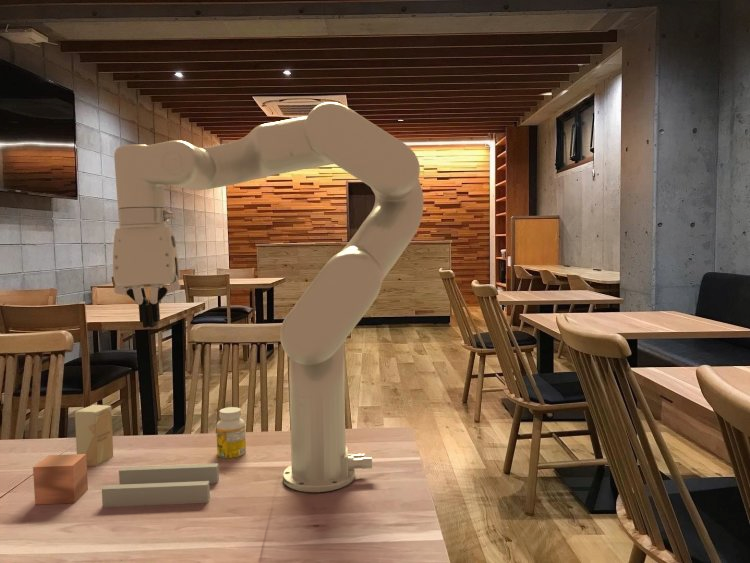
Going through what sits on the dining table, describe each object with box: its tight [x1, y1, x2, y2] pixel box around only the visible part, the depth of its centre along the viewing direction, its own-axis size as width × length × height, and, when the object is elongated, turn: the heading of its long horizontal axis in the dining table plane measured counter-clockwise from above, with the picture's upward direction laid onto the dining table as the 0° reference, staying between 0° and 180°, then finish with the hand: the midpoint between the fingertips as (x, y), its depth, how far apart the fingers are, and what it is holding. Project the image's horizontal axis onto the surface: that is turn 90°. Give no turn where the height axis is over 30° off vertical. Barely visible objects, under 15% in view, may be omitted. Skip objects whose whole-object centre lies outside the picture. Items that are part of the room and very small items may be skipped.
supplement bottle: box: [215, 406, 247, 459], centre depth 113 cm, size 5×5×10 cm
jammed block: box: [32, 453, 89, 505], centre depth 95 cm, size 6×5×6 cm
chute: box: [101, 463, 220, 508], centre depth 96 cm, size 24×12×4 cm, turn 94°
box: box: [74, 404, 114, 467], centre depth 111 cm, size 5×4×11 cm
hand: (150, 326), depth 102 cm, fingers closed
